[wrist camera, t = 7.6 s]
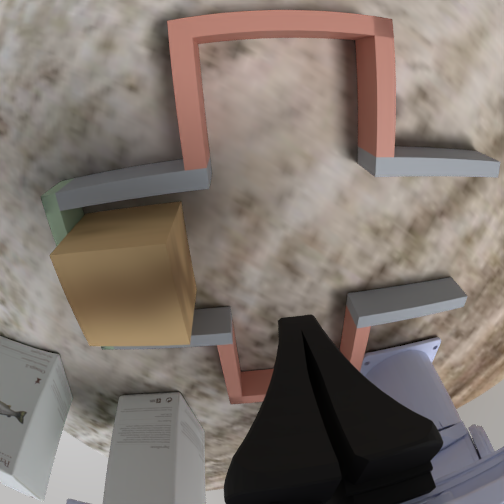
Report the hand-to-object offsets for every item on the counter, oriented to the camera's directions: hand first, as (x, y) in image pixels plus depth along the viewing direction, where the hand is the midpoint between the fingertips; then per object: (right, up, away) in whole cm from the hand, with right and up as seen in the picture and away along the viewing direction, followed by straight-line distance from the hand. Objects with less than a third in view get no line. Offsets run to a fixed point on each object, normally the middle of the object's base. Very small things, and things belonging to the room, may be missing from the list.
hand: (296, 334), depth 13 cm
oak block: (-9, +3, +6) cm, 11 cm away
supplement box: (-23, -8, +12) cm, 27 cm away
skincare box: (-10, -13, +16) cm, 22 cm away
